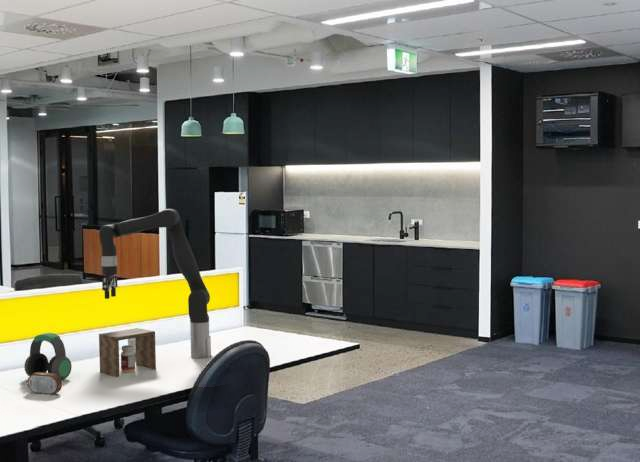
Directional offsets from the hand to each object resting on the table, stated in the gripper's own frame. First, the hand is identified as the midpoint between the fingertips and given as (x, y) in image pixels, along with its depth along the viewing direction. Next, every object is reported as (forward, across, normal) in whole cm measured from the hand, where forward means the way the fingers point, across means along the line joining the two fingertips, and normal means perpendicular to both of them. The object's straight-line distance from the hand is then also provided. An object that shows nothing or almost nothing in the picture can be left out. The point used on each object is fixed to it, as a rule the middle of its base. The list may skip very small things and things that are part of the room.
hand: (110, 297), depth 397 cm
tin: (+30, -75, 0) cm, 80 cm away
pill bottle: (+30, -33, -20) cm, 48 cm away
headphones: (+30, -50, +10) cm, 59 cm away
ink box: (+30, 0, -13) cm, 32 cm away
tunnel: (+29, -33, -20) cm, 48 cm away
